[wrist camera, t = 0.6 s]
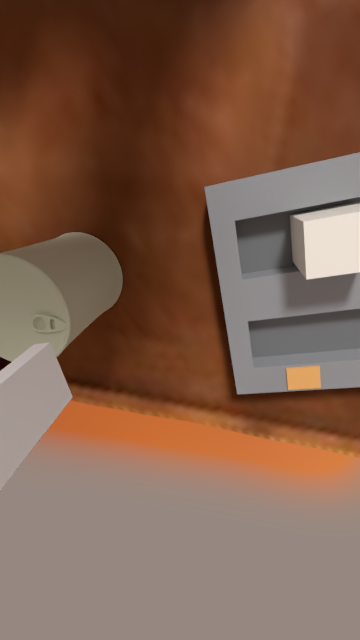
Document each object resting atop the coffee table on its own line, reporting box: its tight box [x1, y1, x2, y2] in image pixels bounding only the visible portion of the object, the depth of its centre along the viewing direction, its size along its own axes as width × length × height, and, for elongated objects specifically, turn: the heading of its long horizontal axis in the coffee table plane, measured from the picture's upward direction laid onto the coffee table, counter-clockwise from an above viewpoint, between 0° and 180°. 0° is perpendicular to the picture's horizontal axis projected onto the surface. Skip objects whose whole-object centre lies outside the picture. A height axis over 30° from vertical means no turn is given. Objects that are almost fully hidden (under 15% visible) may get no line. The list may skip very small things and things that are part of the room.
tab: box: [290, 202, 360, 280], centre depth 23 cm, size 4×5×6 cm
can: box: [0, 232, 123, 362], centre depth 28 cm, size 9×9×12 cm
